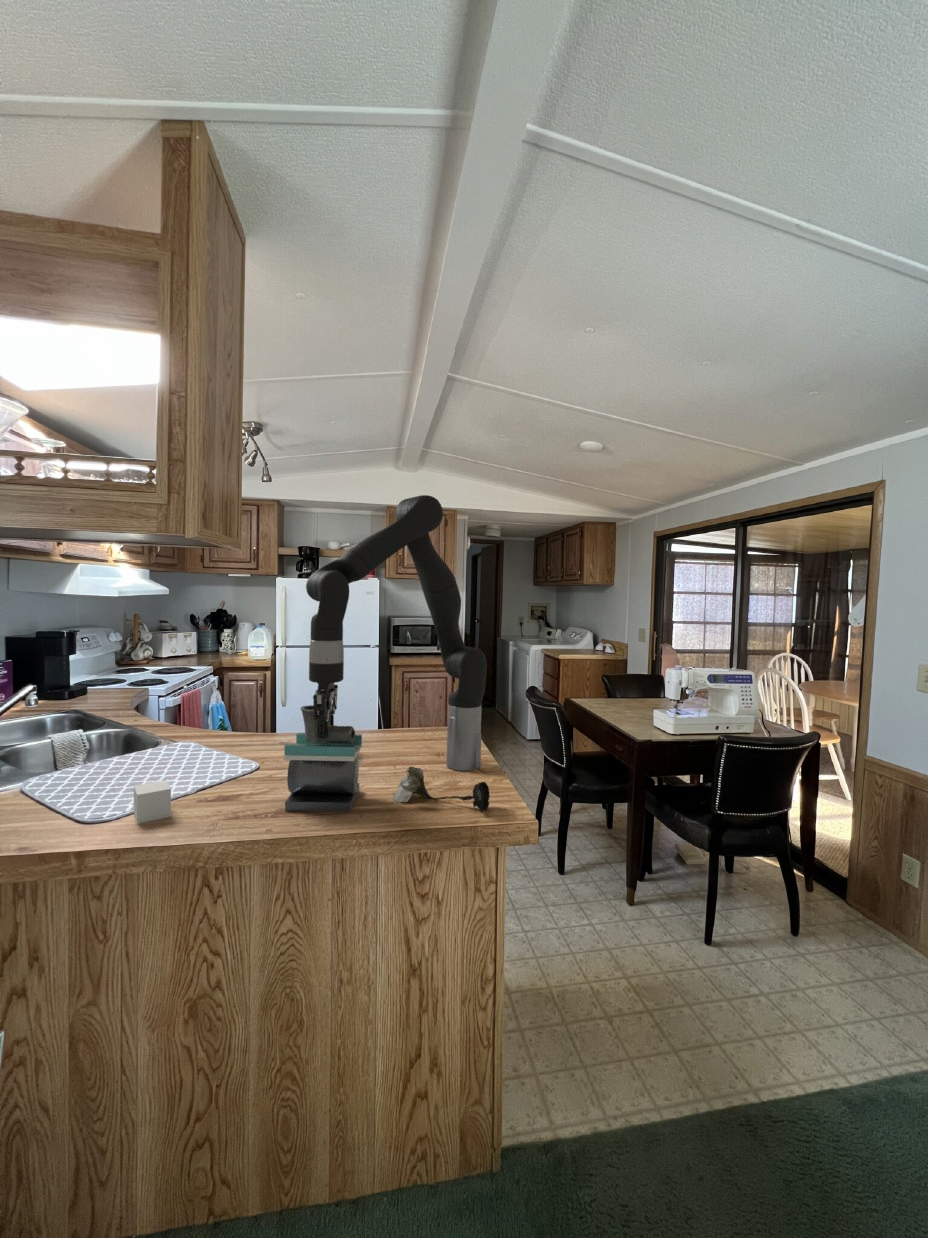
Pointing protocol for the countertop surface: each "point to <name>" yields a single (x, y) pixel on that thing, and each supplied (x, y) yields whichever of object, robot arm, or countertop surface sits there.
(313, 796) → the motor
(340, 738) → the pipe
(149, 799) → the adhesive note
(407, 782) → the artificial flower
